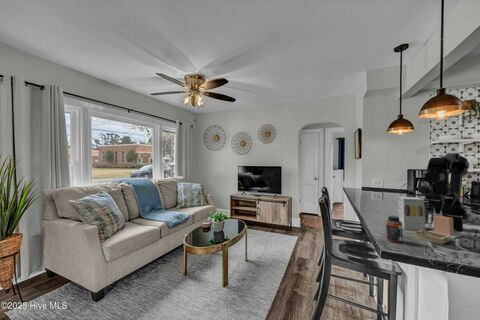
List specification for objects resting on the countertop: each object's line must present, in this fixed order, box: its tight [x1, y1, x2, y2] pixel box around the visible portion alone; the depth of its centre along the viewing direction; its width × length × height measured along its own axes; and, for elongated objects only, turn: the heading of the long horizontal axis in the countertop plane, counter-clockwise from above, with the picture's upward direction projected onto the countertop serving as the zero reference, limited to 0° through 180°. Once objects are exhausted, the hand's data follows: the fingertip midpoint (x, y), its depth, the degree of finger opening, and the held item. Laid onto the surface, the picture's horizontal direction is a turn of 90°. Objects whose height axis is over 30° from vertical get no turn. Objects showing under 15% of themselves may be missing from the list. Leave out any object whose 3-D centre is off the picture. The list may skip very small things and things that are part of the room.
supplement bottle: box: [385, 215, 404, 244], centre depth 94 cm, size 6×6×11 cm
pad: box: [428, 229, 463, 240], centre depth 101 cm, size 10×10×1 cm
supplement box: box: [397, 196, 426, 231], centre depth 113 cm, size 10×9×17 cm
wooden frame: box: [411, 230, 452, 245], centre depth 96 cm, size 9×11×2 cm
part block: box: [432, 214, 455, 235], centre depth 102 cm, size 4×6×8 cm, turn 25°
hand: (442, 213), depth 102 cm, fingers open, 9 cm apart
